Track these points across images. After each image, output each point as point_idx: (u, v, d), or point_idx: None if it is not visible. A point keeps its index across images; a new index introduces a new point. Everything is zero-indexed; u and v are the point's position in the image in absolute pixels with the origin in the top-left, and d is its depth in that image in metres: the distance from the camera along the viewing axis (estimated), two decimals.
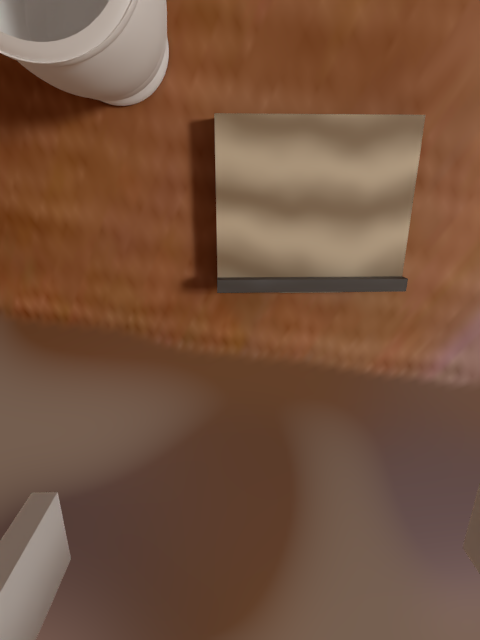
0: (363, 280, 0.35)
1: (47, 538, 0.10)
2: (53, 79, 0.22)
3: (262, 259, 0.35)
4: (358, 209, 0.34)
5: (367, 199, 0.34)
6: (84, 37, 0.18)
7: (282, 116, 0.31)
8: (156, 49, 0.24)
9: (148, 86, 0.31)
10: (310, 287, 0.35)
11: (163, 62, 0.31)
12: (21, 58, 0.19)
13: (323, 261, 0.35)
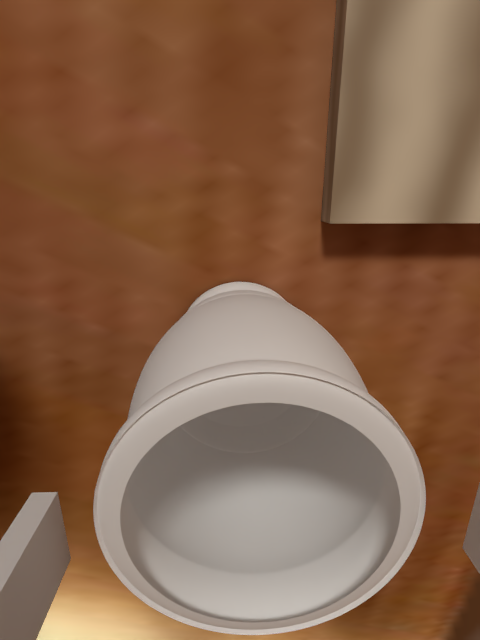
0: None
1: (47, 538, 0.10)
2: (368, 466, 0.16)
3: None
4: None
5: None
6: (401, 467, 0.11)
7: (341, 110, 0.19)
8: (308, 318, 0.16)
9: None
10: None
11: (258, 290, 0.23)
12: (409, 544, 0.12)
13: None
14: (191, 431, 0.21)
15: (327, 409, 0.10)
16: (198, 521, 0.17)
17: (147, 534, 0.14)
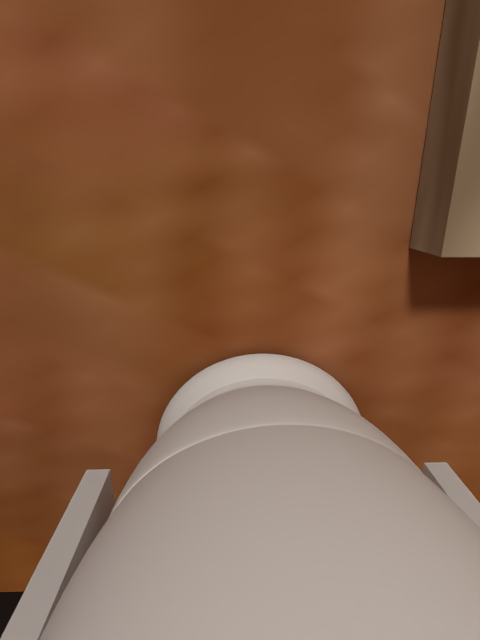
0: None
1: (103, 510, 0.11)
2: None
3: None
4: None
5: None
6: None
7: None
8: None
9: (344, 406, 0.13)
10: None
11: (296, 370, 0.13)
12: None
13: None
14: None
15: None
16: None
17: None
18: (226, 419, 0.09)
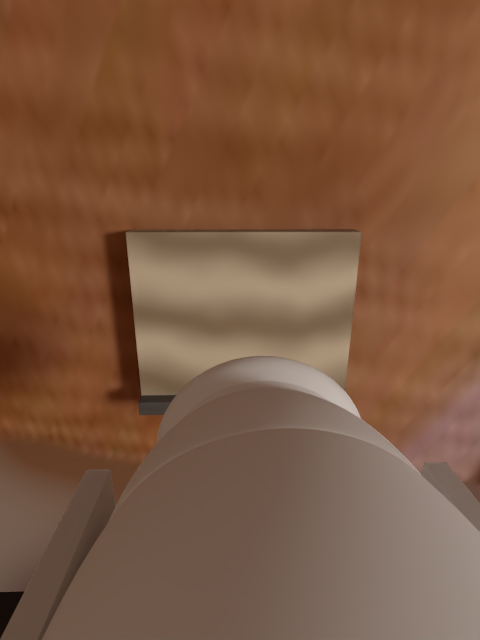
0: None
1: (104, 510, 0.11)
2: None
3: (189, 377, 0.32)
4: (292, 326, 0.31)
5: (301, 317, 0.30)
6: None
7: (201, 234, 0.28)
8: None
9: (344, 408, 0.13)
10: None
11: (296, 373, 0.13)
12: None
13: None
14: None
15: None
16: None
17: None
18: (226, 422, 0.09)
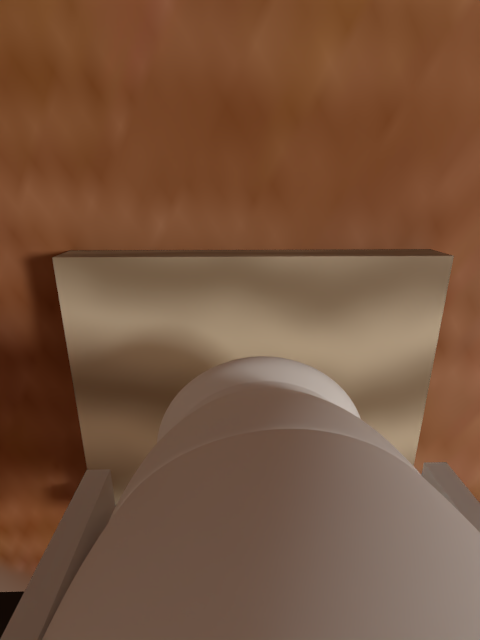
0: None
1: (104, 510, 0.11)
2: None
3: None
4: None
5: (346, 391, 0.19)
6: None
7: (182, 260, 0.16)
8: None
9: (344, 408, 0.13)
10: None
11: (296, 373, 0.13)
12: None
13: None
14: None
15: None
16: None
17: None
18: (226, 423, 0.09)
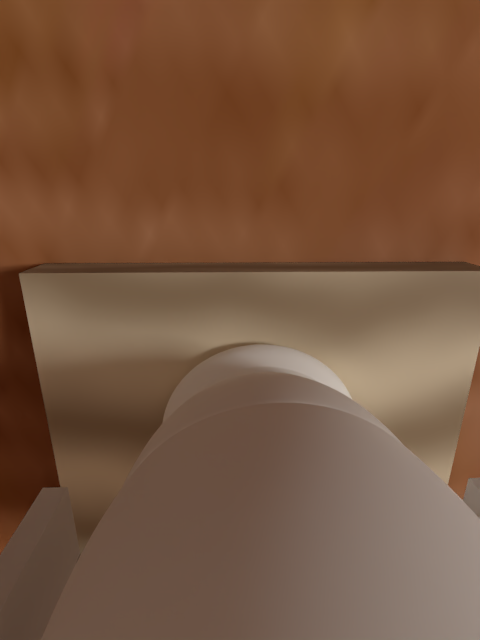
0: None
1: (58, 532, 0.11)
2: None
3: None
4: None
5: None
6: None
7: (174, 277, 0.14)
8: (449, 504, 0.07)
9: None
10: None
11: (293, 360, 0.14)
12: None
13: None
14: None
15: None
16: None
17: None
18: (228, 399, 0.10)
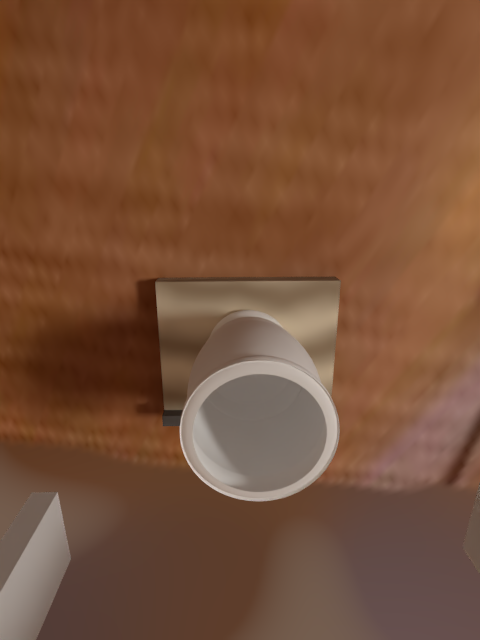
0: None
1: (47, 538, 0.10)
2: (320, 419, 0.28)
3: None
4: None
5: None
6: (325, 406, 0.23)
7: (214, 283, 0.36)
8: (287, 335, 0.28)
9: None
10: None
11: (260, 315, 0.36)
12: (333, 449, 0.24)
13: None
14: (217, 406, 0.34)
15: (288, 377, 0.22)
16: (223, 452, 0.29)
17: (200, 449, 0.26)
18: (236, 320, 0.32)
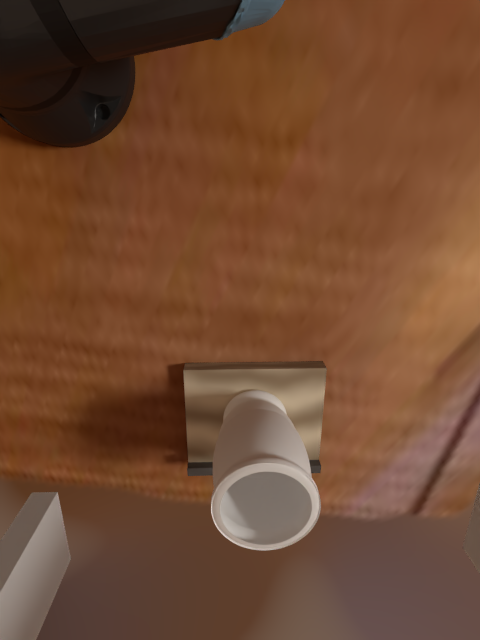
0: None
1: (47, 538, 0.10)
2: None
3: None
4: None
5: (290, 416, 0.49)
6: (310, 491, 0.34)
7: (229, 370, 0.46)
8: (285, 426, 0.39)
9: (278, 405, 0.47)
10: None
11: (264, 395, 0.46)
12: (317, 516, 0.35)
13: None
14: None
15: (286, 473, 0.33)
16: (238, 509, 0.40)
17: (223, 513, 0.37)
18: (246, 408, 0.42)
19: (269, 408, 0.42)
